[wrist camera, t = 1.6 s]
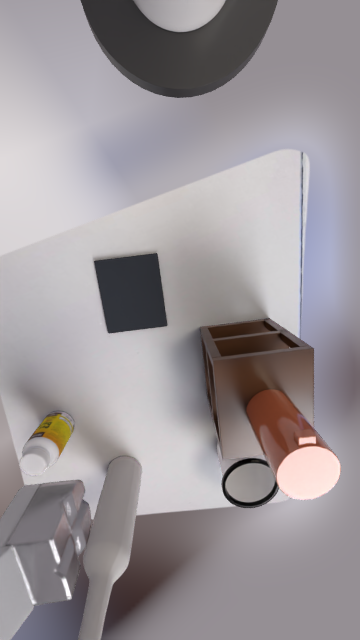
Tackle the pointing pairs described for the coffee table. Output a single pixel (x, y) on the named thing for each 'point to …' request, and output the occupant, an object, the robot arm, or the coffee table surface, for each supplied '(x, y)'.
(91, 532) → the bottle
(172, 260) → the coffee table surface
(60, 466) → the coffee table surface
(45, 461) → the supplement bottle
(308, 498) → the orange two-handled pot
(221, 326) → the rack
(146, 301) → the mat
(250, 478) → the mug
